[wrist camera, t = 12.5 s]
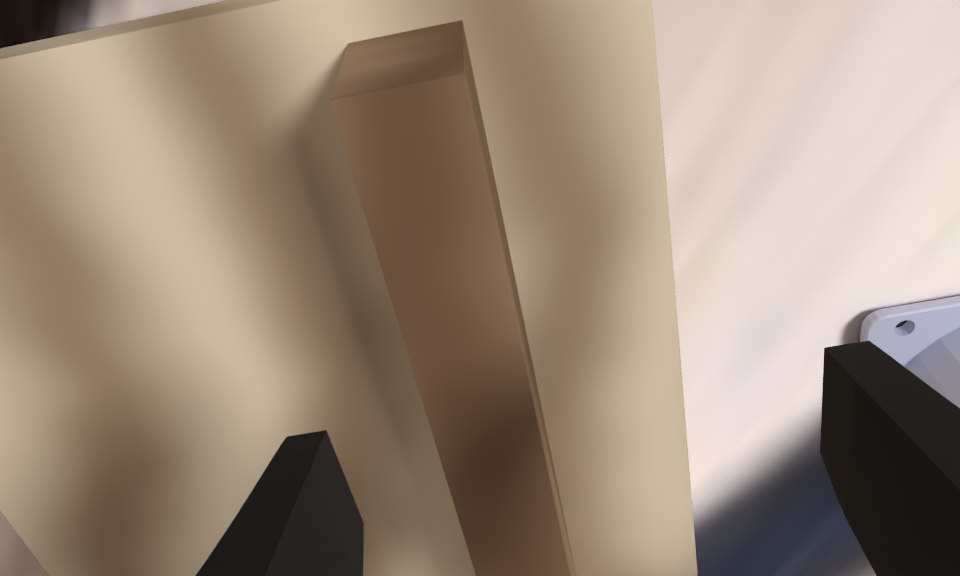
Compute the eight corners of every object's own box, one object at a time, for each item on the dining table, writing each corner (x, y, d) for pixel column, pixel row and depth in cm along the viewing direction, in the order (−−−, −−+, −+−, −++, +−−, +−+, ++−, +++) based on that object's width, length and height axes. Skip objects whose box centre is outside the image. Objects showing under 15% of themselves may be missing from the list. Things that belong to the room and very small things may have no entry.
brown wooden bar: (462, 19, 17) (463, 74, 15) (575, 574, 27) (589, 667, 24) (348, 43, 17) (329, 100, 15) (502, 585, 27) (507, 678, 25)
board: (636, -87, 17) (645, -77, 16) (706, 738, 35) (712, 763, 34) (-259, 103, 19) (-292, 120, 18) (239, 798, 36) (234, 823, 36)
